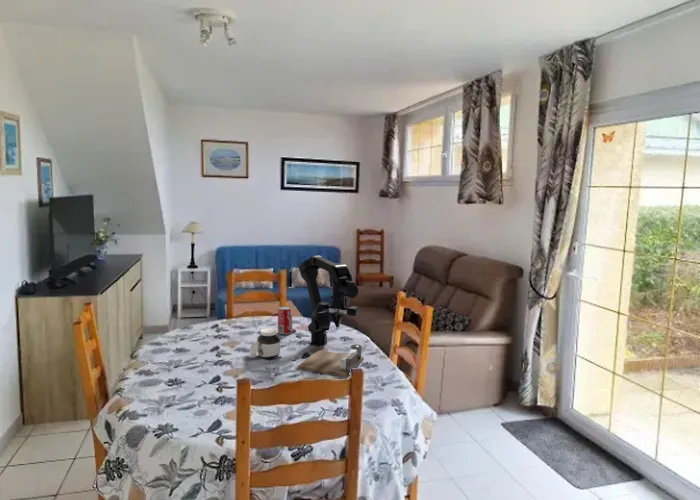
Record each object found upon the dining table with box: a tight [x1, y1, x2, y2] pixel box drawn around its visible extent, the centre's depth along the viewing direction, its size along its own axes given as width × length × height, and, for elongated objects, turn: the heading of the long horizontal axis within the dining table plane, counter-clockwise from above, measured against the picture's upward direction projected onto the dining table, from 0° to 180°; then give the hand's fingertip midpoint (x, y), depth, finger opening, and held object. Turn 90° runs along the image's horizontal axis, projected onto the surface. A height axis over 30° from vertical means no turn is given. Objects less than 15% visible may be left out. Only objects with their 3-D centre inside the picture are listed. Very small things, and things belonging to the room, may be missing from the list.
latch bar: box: [340, 343, 362, 370], centre depth 205 cm, size 18×4×5 cm, turn 160°
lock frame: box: [297, 349, 364, 378], centre depth 206 cm, size 22×21×7 cm
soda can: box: [277, 305, 293, 336], centre depth 247 cm, size 7×7×13 cm
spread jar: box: [249, 327, 281, 360], centre depth 213 cm, size 12×11×12 cm
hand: (337, 327), depth 220 cm, fingers closed
